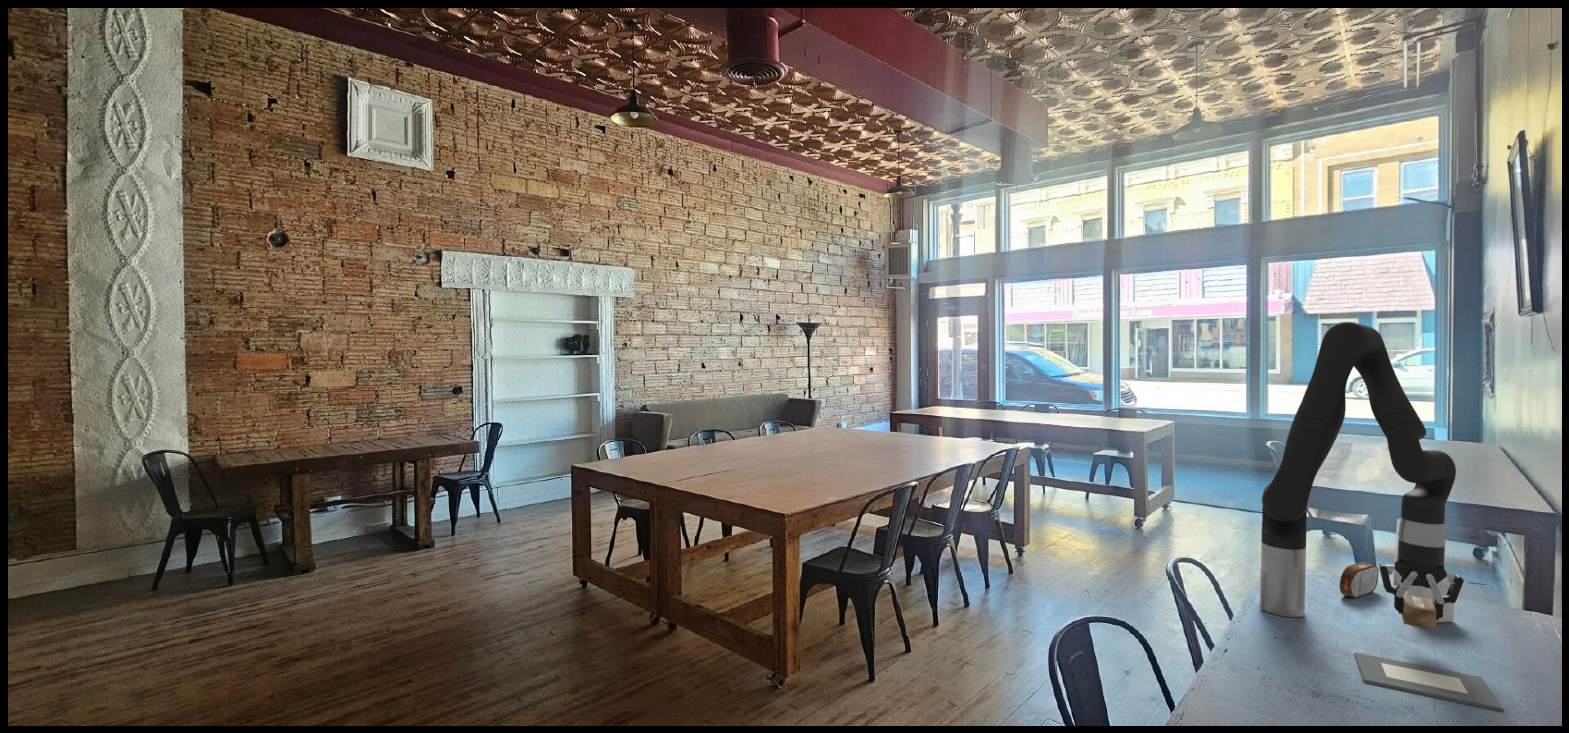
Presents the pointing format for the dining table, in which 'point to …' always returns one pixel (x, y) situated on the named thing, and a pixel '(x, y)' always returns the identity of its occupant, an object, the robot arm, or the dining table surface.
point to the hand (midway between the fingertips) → (1417, 615)
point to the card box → (1419, 612)
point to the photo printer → (1427, 593)
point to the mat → (1427, 681)
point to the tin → (1359, 579)
